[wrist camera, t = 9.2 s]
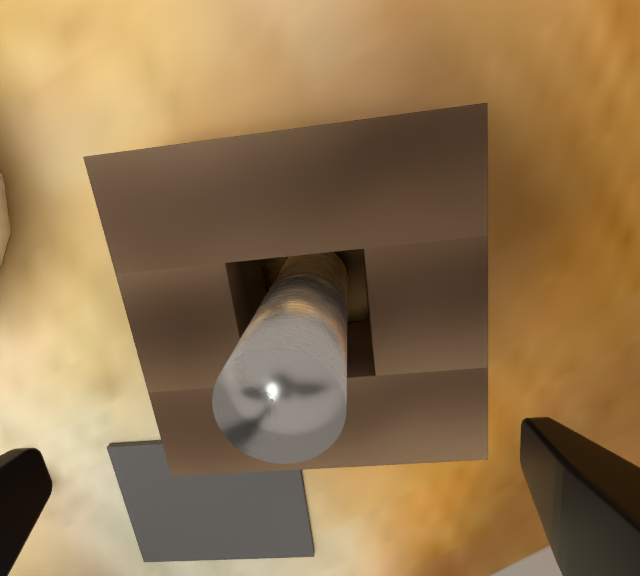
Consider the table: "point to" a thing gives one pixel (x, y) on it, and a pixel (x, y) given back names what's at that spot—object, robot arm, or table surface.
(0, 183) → the vase
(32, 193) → the table surface
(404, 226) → the hole block
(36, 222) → the table surface
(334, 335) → the pin
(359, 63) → the table surface
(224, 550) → the rubber mat
